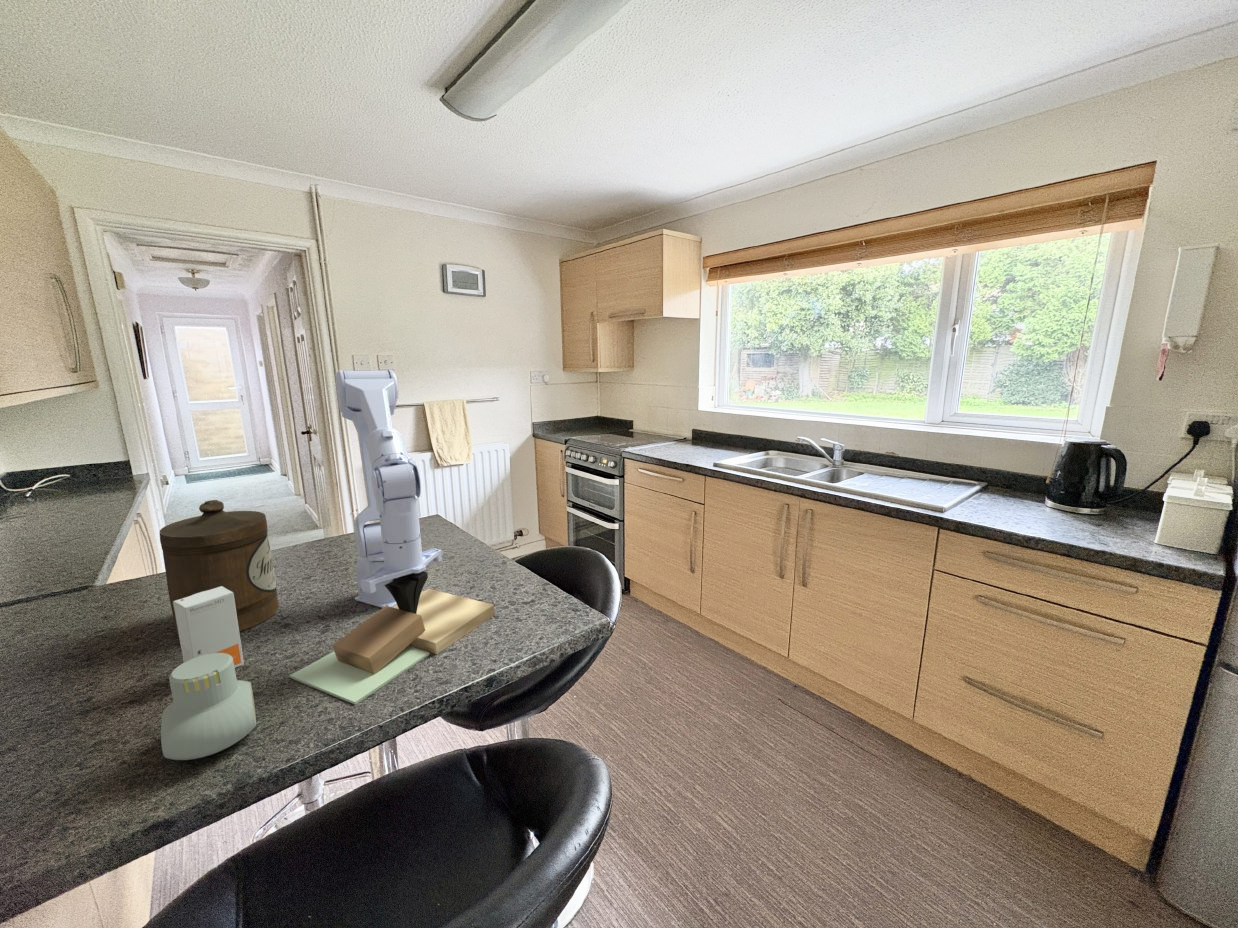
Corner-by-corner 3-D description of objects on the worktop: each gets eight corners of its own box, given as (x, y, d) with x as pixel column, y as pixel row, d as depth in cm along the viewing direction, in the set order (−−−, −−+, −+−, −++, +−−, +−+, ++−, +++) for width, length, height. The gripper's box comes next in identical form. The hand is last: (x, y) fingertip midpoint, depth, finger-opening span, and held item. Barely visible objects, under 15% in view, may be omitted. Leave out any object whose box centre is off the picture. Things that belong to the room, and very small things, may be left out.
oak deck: (366, 632, 85) (365, 621, 85) (429, 598, 98) (428, 588, 97) (436, 654, 78) (435, 642, 78) (494, 614, 91) (494, 604, 90)
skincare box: (197, 685, 71) (182, 608, 69) (185, 676, 73) (170, 600, 71) (246, 664, 76) (234, 591, 74) (234, 655, 78) (221, 584, 76)
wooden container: (289, 616, 91) (272, 499, 86) (182, 650, 80) (157, 519, 76) (268, 592, 101) (252, 486, 96) (170, 619, 90) (147, 501, 86)
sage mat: (290, 677, 73) (289, 675, 73) (368, 634, 84) (367, 632, 84) (355, 704, 67) (355, 702, 67) (429, 654, 78) (429, 652, 78)
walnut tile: (338, 660, 76) (332, 645, 75) (390, 620, 84) (385, 605, 83) (374, 674, 73) (369, 658, 72) (425, 630, 81) (421, 615, 80)
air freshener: (174, 728, 63) (159, 657, 61) (254, 702, 68) (243, 634, 66) (165, 785, 54) (148, 703, 52) (258, 749, 59) (246, 674, 57)
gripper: (380, 557, 72) (389, 642, 75) (452, 527, 85) (458, 601, 88) (347, 549, 75) (357, 632, 78) (422, 522, 88) (428, 594, 91)
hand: (408, 615), depth 83 cm, fingers closed
